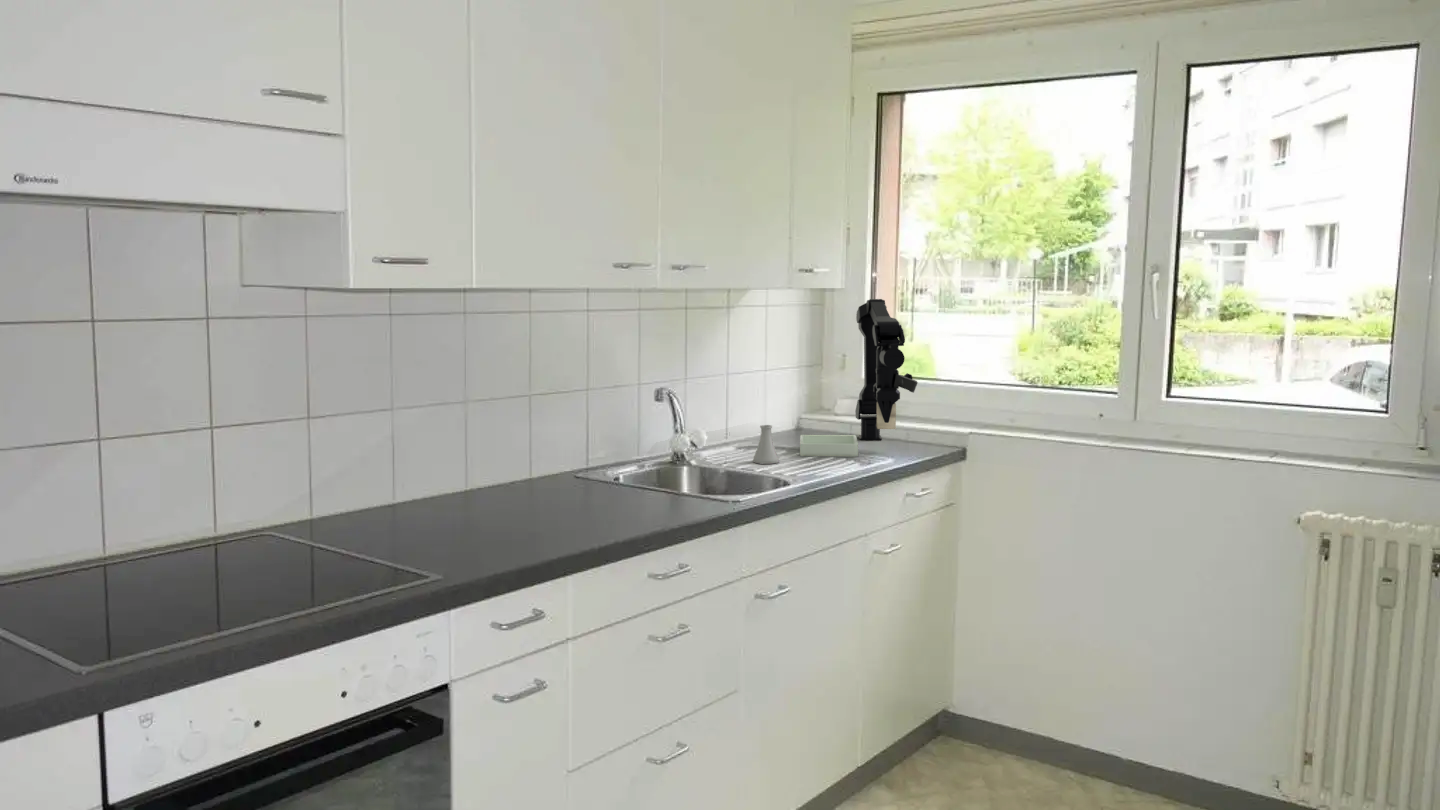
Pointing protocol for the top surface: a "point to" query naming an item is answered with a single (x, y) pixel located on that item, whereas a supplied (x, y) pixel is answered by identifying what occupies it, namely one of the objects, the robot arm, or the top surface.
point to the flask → (766, 448)
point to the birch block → (892, 420)
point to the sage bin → (828, 446)
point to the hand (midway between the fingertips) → (886, 421)
